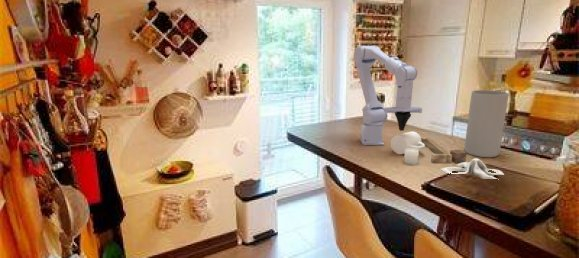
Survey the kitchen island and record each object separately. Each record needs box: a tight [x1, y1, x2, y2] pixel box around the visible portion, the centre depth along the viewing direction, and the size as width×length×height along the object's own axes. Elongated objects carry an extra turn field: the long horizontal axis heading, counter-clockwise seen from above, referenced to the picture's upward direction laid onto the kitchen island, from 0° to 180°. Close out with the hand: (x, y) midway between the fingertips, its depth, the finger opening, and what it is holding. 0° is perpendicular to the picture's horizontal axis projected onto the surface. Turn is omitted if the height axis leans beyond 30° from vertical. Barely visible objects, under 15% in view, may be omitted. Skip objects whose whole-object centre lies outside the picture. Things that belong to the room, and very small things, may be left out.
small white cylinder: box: [403, 148, 420, 166], centre depth 124 cm, size 5×5×5 cm
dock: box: [421, 137, 452, 164], centre depth 135 cm, size 7×23×3 cm, turn 178°
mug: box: [390, 131, 426, 155], centre depth 135 cm, size 12×10×8 cm
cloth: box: [439, 157, 505, 179], centre depth 112 cm, size 22×19×6 cm
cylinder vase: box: [463, 89, 510, 158], centre depth 131 cm, size 12×12×25 cm
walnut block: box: [449, 149, 468, 164], centre depth 125 cm, size 4×4×4 cm
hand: (401, 130), depth 133 cm, fingers closed
